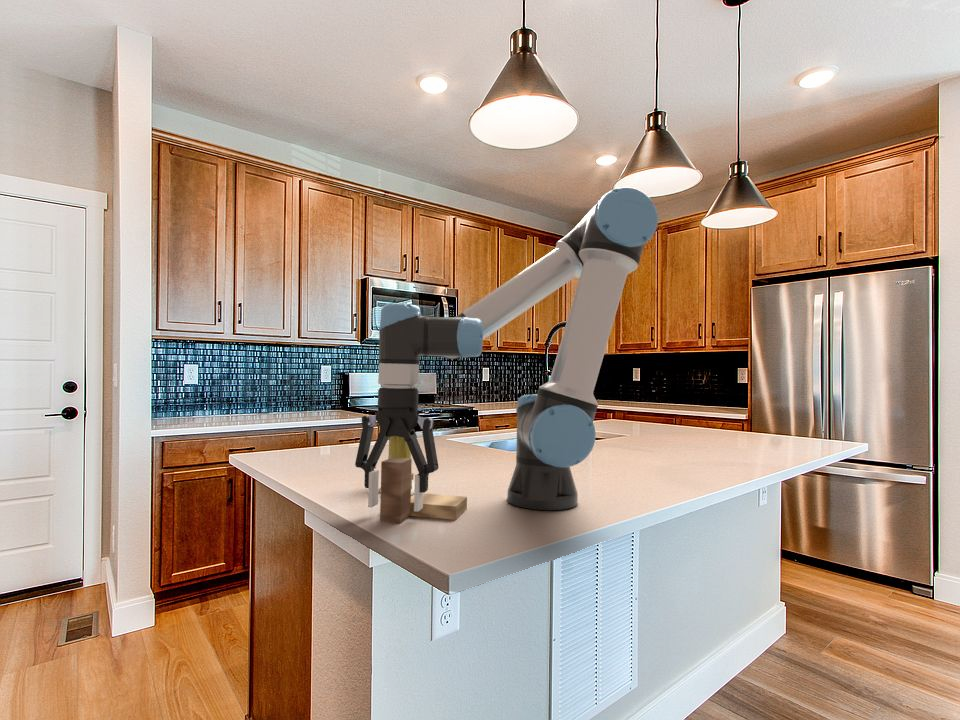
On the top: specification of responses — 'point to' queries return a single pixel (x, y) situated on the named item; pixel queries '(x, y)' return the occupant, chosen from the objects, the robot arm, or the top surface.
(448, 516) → the board
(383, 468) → the upright wooden block
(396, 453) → the vase
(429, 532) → the top surface
